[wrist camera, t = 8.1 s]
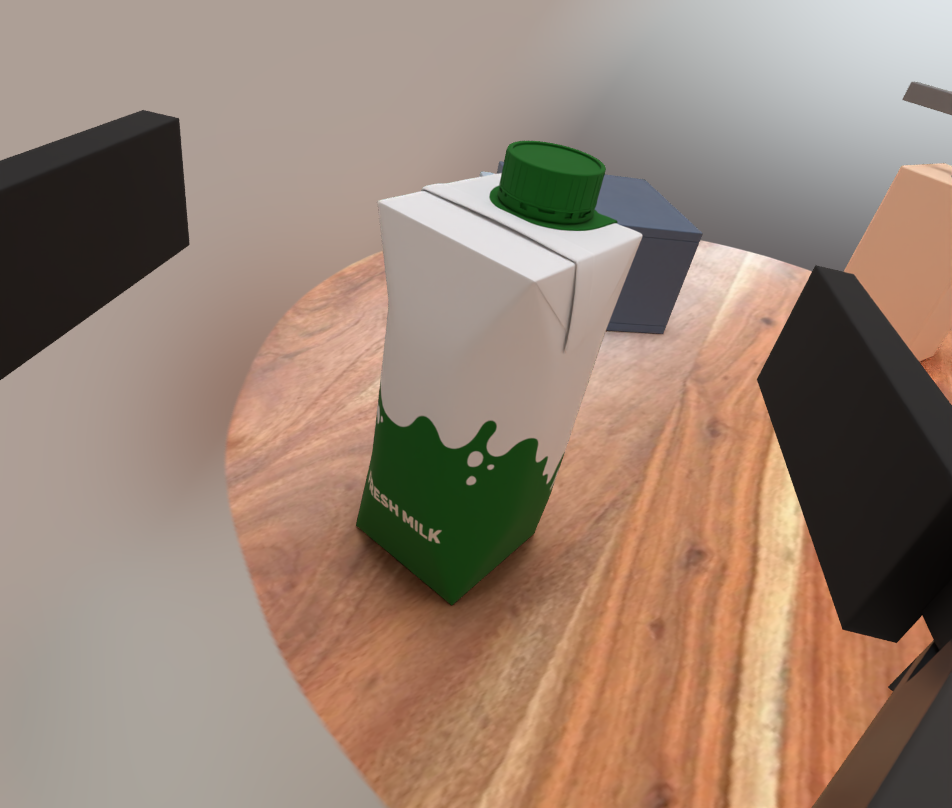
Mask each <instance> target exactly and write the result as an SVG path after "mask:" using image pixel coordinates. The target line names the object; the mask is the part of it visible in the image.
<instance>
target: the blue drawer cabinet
mask: <svg viewBox="0 0 952 808" xmlns="http://www.w3.org/2000/svg"><path fill="white" fill-rule="evenodd" d="M503 165H504V162H499V166H498V171H497V174H499V173H502V169H503ZM595 210H596V211H597V212H598V213H600V214H602V215H605V216H608V217H610V218H612V219H615V220H617V224H619V225H621V226H624V227H627V228H630V229H632V230H635V231H637V232H639V233H641V234H642V239H641V242H640V244H639V246H638V249H637V251H636V254H635V257H634V259H633V262H632V264H631V267H630V269H629V272H628V274H627V277H626V279H625V282H624V285H623V287H622V290H621V292H620V295H619V297H618V300H617V303H616V305H615V308H614V310H613V313H612V316H611V318H610V321H609V323H608V326H607V329H606V330H609V331H625V332H642V333H658V334H663V333H664V330H665V328H666V325H667V322H668V320H669V317H670V315H671V312H672V310H673V307H674V305H675V302H676V300H677V297H678V295H679V292H680V290H681V287H682V285H683V282H684V280H685V277H686V275H687V272H688V270H689V267H690V264H691V262H692V259H693V257H694V254H695V252H696V249H697V247H698V244H699V242H700V239H701V237H702V232H700V231H699V230H698V229H697V228H696V227H695V226H694V225H693V224H692V223H691V222H690V221H689V220H688V219H687V218H685V217H684V216H683V215H682V214H681V213H680V212H679V211H678V210H677V209H676V208H675V207H674V206H673V205H671V204H670V203H669V202H668V201H667V200H666V199H665V198H664V197H663V196H662V195H661V194H660V193H659V192H657V191H656V190H655V189H654V188H653V187H652V186H651V185H650V184H649V183H648V182H647V181H646V180H644V179H635V178H628V177H619V176H612V175H604V178H603V182H602V185H601V189H600V193H599V196H598V200H597V205H596V207H595Z"/></svg>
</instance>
